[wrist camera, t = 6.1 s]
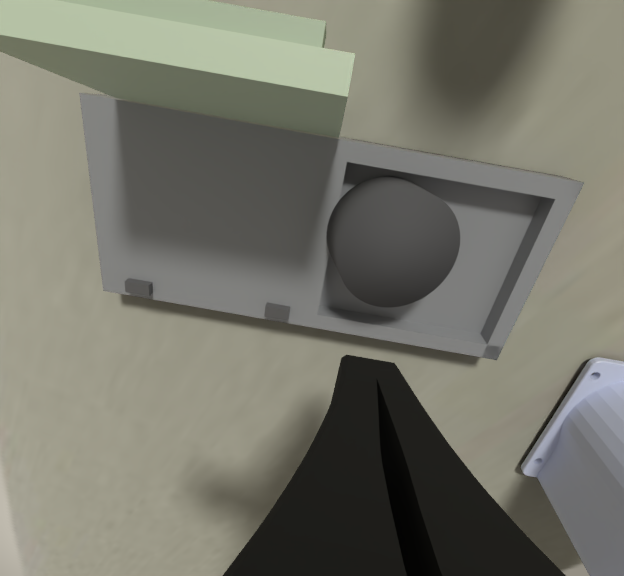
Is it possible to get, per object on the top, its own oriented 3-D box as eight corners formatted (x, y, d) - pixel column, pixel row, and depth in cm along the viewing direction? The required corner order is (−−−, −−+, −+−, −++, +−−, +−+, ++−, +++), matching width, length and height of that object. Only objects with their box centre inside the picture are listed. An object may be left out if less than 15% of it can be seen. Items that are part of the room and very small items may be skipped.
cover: (347, 96, 7) (360, 25, 7) (-75, 21, 7) (-85, -55, 7) (339, 137, 14) (345, 102, 14) (116, 98, 14) (117, 61, 14)
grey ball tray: (486, 343, 20) (500, 364, 18) (119, 278, 20) (98, 294, 18) (563, 176, 16) (590, 184, 14) (102, 94, 16) (72, 92, 14)
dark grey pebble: (422, 279, 18) (445, 305, 16) (323, 282, 17) (333, 310, 15) (442, 176, 15) (473, 189, 13) (329, 175, 15) (342, 189, 13)
